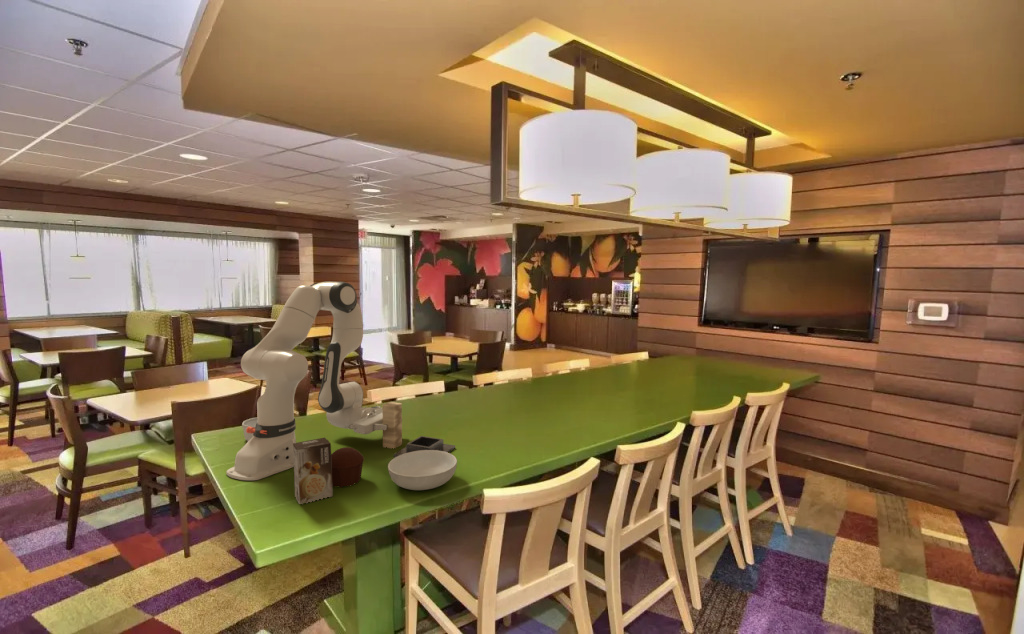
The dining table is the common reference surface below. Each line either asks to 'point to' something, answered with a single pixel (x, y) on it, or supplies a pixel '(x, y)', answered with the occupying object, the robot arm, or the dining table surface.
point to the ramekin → (249, 423)
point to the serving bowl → (422, 469)
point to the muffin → (346, 466)
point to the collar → (425, 445)
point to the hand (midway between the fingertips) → (394, 423)
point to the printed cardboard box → (312, 470)
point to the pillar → (392, 424)
